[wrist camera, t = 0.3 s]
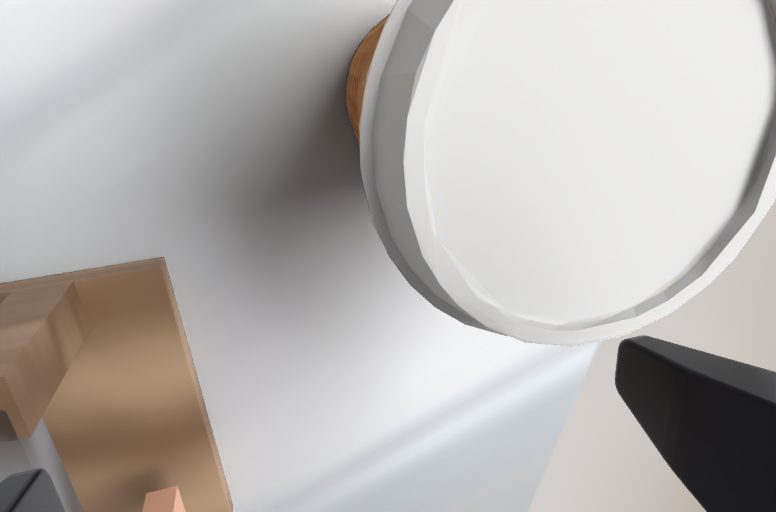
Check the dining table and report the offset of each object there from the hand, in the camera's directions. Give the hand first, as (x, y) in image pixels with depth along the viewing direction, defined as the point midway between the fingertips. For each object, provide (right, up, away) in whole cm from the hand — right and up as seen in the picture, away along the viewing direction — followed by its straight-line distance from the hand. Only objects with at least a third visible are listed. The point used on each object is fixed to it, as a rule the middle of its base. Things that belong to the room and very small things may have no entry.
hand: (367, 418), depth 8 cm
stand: (-12, -4, +14) cm, 19 cm away
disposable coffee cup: (+2, +9, +12) cm, 16 cm away
